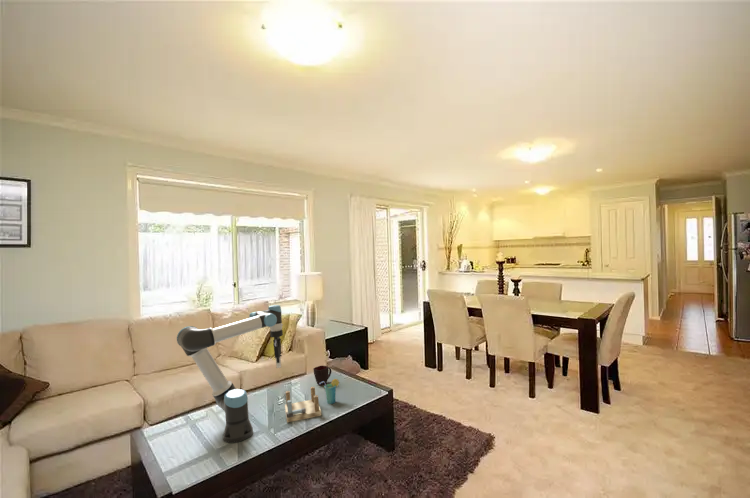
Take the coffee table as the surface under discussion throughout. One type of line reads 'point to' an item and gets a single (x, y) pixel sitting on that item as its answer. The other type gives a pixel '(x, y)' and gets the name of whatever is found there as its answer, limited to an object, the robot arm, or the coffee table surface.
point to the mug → (322, 374)
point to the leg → (289, 405)
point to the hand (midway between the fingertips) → (278, 367)
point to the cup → (331, 390)
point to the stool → (310, 406)
